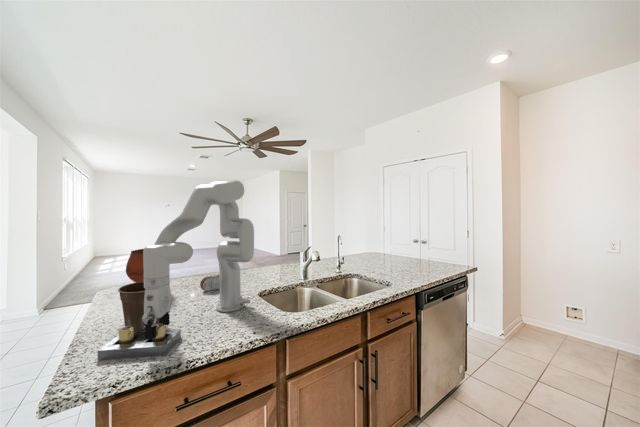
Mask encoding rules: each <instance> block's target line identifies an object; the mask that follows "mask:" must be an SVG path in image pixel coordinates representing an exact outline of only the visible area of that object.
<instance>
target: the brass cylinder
mask: <svg viewBox="0 0 640 427" xmlns="http://www.w3.org/2000/svg"><path fill="white" fill-rule="evenodd" d="M165 330H166V325H165V324H156V338H154V339H152V342H163V341H164V340H165Z"/></svg>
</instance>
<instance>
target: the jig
mask: <svg viewBox="0 0 640 427" xmlns="http://www.w3.org/2000/svg"><path fill="white" fill-rule="evenodd" d="M181 336H182V333H181V329H180V328H178V329H165V340H164V341H163V342H152V339H145V330H143V331H134V330H133V326H125V325H124V326H123V327H120V328H119V329H118V335H117V336H115V337H114V338H113V339H111V340H109V342H107V343H105V345H103V346H102V347H100V349H98V350H97V361H103V360H104V361H105V360H117V359H118V360H119V359H120V360H121V359H132V358H133V359H134V358H145V357H147V358H148V357H159V356H160V357H161V356H167V355H168V354H169V352H170V351H171V350H172V348H174V346H175V345H176V344H177V342H178V341H179V340H180V339H181Z"/></svg>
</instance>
